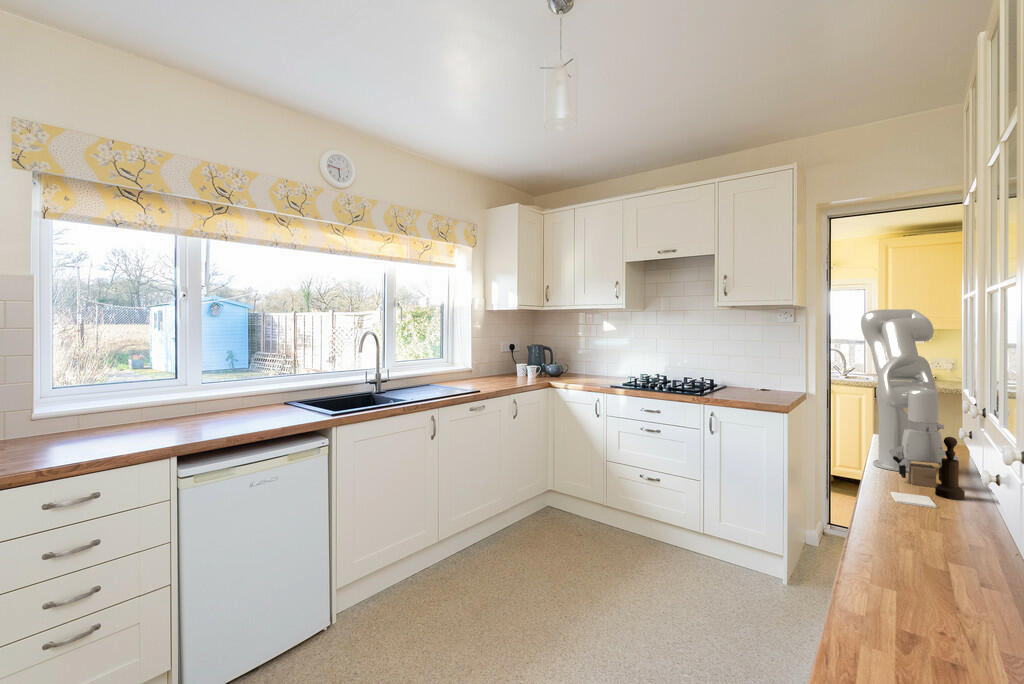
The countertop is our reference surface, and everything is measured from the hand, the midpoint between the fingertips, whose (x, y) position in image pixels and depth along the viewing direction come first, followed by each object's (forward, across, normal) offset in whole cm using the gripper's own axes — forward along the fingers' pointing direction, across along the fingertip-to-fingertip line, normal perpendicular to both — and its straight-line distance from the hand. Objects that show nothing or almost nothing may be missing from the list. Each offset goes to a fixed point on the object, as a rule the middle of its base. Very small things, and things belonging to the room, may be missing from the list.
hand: (922, 479), depth 158 cm
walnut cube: (+2, 0, 0) cm, 2 cm away
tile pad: (+2, +6, +21) cm, 22 cm away
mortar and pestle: (+2, -4, +11) cm, 12 cm away
